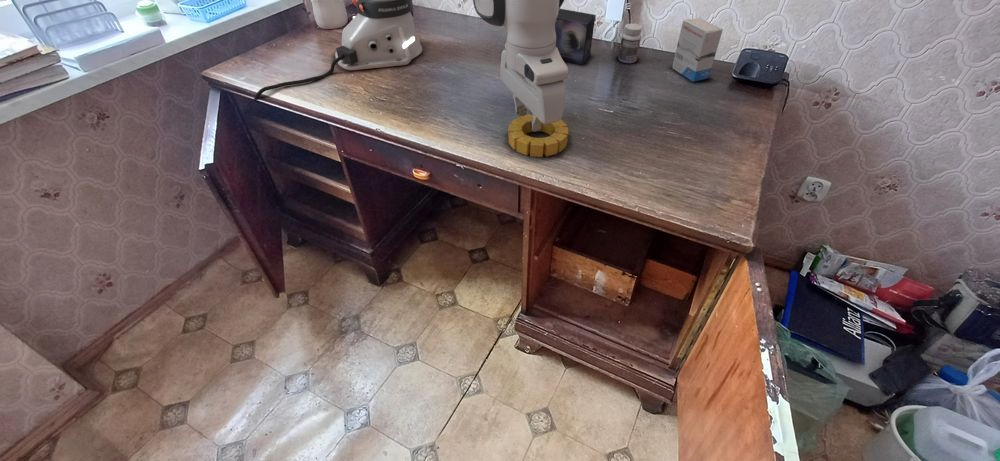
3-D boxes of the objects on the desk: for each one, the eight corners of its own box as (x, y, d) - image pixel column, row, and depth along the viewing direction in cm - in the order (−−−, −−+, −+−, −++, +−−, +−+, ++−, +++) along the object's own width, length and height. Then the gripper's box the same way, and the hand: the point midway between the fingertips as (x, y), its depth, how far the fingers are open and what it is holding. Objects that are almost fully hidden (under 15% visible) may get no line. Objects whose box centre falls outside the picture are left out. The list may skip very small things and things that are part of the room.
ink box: (709, 79, 112) (725, 29, 104) (691, 82, 110) (706, 32, 102) (686, 64, 118) (700, 16, 109) (669, 68, 116) (682, 19, 108)
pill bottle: (621, 54, 122) (627, 21, 117) (639, 58, 121) (645, 24, 115) (615, 61, 119) (620, 27, 114) (632, 65, 118) (639, 31, 112)
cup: (325, 32, 134) (316, -4, 127) (310, 23, 140) (300, -12, 133) (355, 24, 139) (347, -12, 132) (338, 15, 144) (330, -19, 137)
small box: (543, 57, 121) (546, 15, 114) (553, 48, 125) (556, 7, 118) (582, 65, 118) (587, 22, 110) (591, 55, 122) (596, 14, 114)
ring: (524, 162, 87) (525, 150, 85) (499, 132, 95) (499, 121, 93) (578, 148, 91) (579, 136, 89) (549, 120, 98) (550, 109, 96)
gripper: (492, 37, 91) (493, 102, 100) (541, 80, 77) (536, 150, 87) (521, 32, 93) (519, 96, 102) (574, 73, 79) (566, 143, 89)
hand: (527, 121), depth 95 cm, fingers open, 5 cm apart
